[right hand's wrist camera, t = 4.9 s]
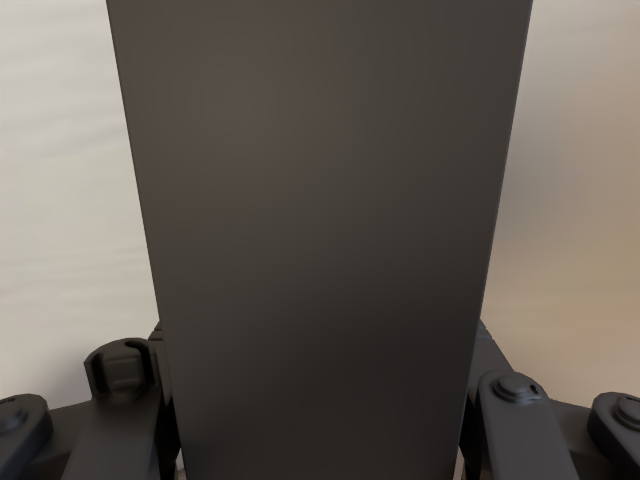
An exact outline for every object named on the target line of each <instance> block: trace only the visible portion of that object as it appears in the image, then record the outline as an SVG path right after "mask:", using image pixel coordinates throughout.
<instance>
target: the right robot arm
mask: <svg viewBox="0 0 640 480" xmlns="http://www.w3.org/2000/svg"><path fill="white" fill-rule="evenodd" d="M84 366H85V370H86V374H87V378H88V381H89V385H90V389H91V393H92V398H91V400H90V401H86V402H83V403H79V404H75V405H71V406H66V407H62V408H57V409H53V410H49V408H48V405H47V402H46V400H45V399H43V398H42V397H41V396H40V395H34V394H22V395H14V396H11V397H8V398H5V399H2V400H0V480H186V474H185V468H184V469H182V470H180V471H177V465H176V459H177V456H178V453H179V451H180V448H181V445H180V439H179V433H178V427H177V421H176V415H175V409H174V403H173V397H172V391H171V385H170V379H169V373H168V367H167V361H166V355H165V349H164V343H163V337H162V331H161V325H160V321H159V322H158V324H157V325H156V327H155V328H154V331H153V332H152V333H151V335H150V336H149V338H148V340H146V339H142V338H125V339H120V340H116V341H112V342H110V343H108V344H105V345H103V346H101V347H99V348H98V349H96V350H95V351H94V352H92V353H91V354H90V355H89V356H88V357H87V359H86V360H85V361H84ZM459 447H460V449H461V452H462V455H463V457H464V465H463V471H462V477H461V480H640V398H638V397H635V396H632V395H628V394H625V393H617V392H607V393H602V394H599V395H598V396H597V397H596V398H595V399H594V401H593V404H592V407H591V409H590V408H586V407H581V406H577V405H572V404H568V403H563V402H560V401H556V400H553V399H549V398H548V395H547V394H546V392H545V391H544V389H543V388H542V387H541V386H540V385H539V384H538V383H537V382H535V381H534V380H533V379H531V378H529V377H527V376H525V375H523V374H521V373H518V372H515V371H514V370H513V369H512V367H511V366H510V364H509V363H508V361H507V360H506V358H505V356H504V355H503V353H502V352H501V350H500V349H499V347H498V346H497V344H496V343H495V341H494V339H492V336H491V335H490V333H489V332H488V330H486V327H485V326H484V324H483V322H482V321H481V319H480V320H479V326H478V332H477V338H476V344H475V350H474V356H473V362H472V368H471V374H470V380H469V386H468V392H467V398H466V404H465V410H464V416H463V422H462V428H461V434H460V440H459Z"/></svg>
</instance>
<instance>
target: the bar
mask: <svg viewBox="0 0 640 480" xmlns="http://www.w3.org/2000/svg"><path fill="white" fill-rule="evenodd" d="M106 3H107V9H108V15H109V21H110V27H111V33H112V39H113V45H114V51H115V57H116V63H117V69H118V75H119V81H120V87H121V93H122V99H123V105H124V111H125V117H126V123H127V129H128V135H129V141H130V147H131V153H132V158H133V164H134V170H135V176H136V182H137V188H138V194H139V200H140V206H141V212H142V218H143V224H144V230H145V236H146V242H147V248H148V254H149V260H150V266H151V272H152V278H153V284H154V290H155V296H156V302H157V308H158V313H159V319H160V325H161V331H162V337H163V343H164V349H165V355H166V361H167V367H168V373H169V379H170V385H171V391H172V397H173V403H174V409H175V415H176V421H177V427H178V433H179V439H180V445H181V451H182V457H183V463H184V468H185V474H186V480H453V476H454V470H455V464H456V458H457V452H458V446H459V440H460V434H461V428H462V422H463V416H464V410H465V404H466V398H467V392H468V386H469V380H470V374H471V368H472V362H473V356H474V350H475V344H476V338H477V332H478V326H479V320H480V314H481V308H482V302H483V296H484V290H485V284H486V279H487V273H488V267H489V261H490V255H491V249H492V243H493V237H494V231H495V225H496V219H497V213H498V207H499V201H500V195H501V189H502V183H503V177H504V171H505V165H506V159H507V153H508V147H509V141H510V135H511V129H512V123H513V117H514V111H515V105H516V99H517V93H518V87H519V81H520V75H521V69H522V63H523V57H524V51H525V45H526V39H527V33H528V27H529V21H530V15H531V9H532V3H533V0H106Z"/></svg>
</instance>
